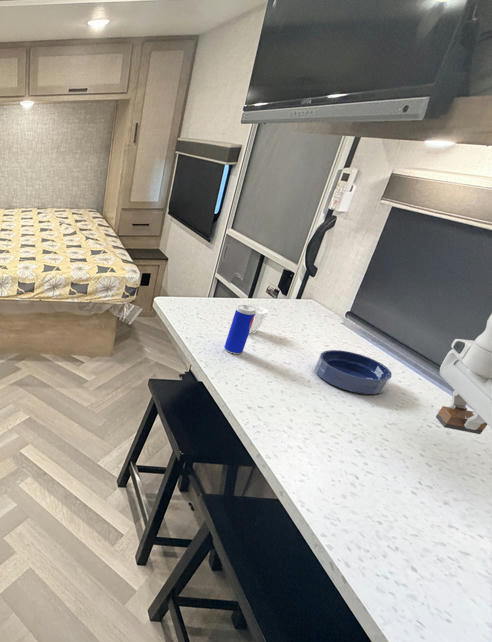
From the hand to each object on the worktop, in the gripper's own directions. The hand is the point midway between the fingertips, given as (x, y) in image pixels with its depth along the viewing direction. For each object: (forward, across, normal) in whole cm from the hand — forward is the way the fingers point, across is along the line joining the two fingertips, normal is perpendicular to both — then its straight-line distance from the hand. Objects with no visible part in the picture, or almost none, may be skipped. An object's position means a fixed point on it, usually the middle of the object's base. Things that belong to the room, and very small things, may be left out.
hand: (461, 419), depth 81 cm
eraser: (+2, 0, 0) cm, 2 cm away
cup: (+10, +49, +30) cm, 58 cm away
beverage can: (+10, +33, +36) cm, 50 cm away
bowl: (+10, +28, +8) cm, 31 cm away
